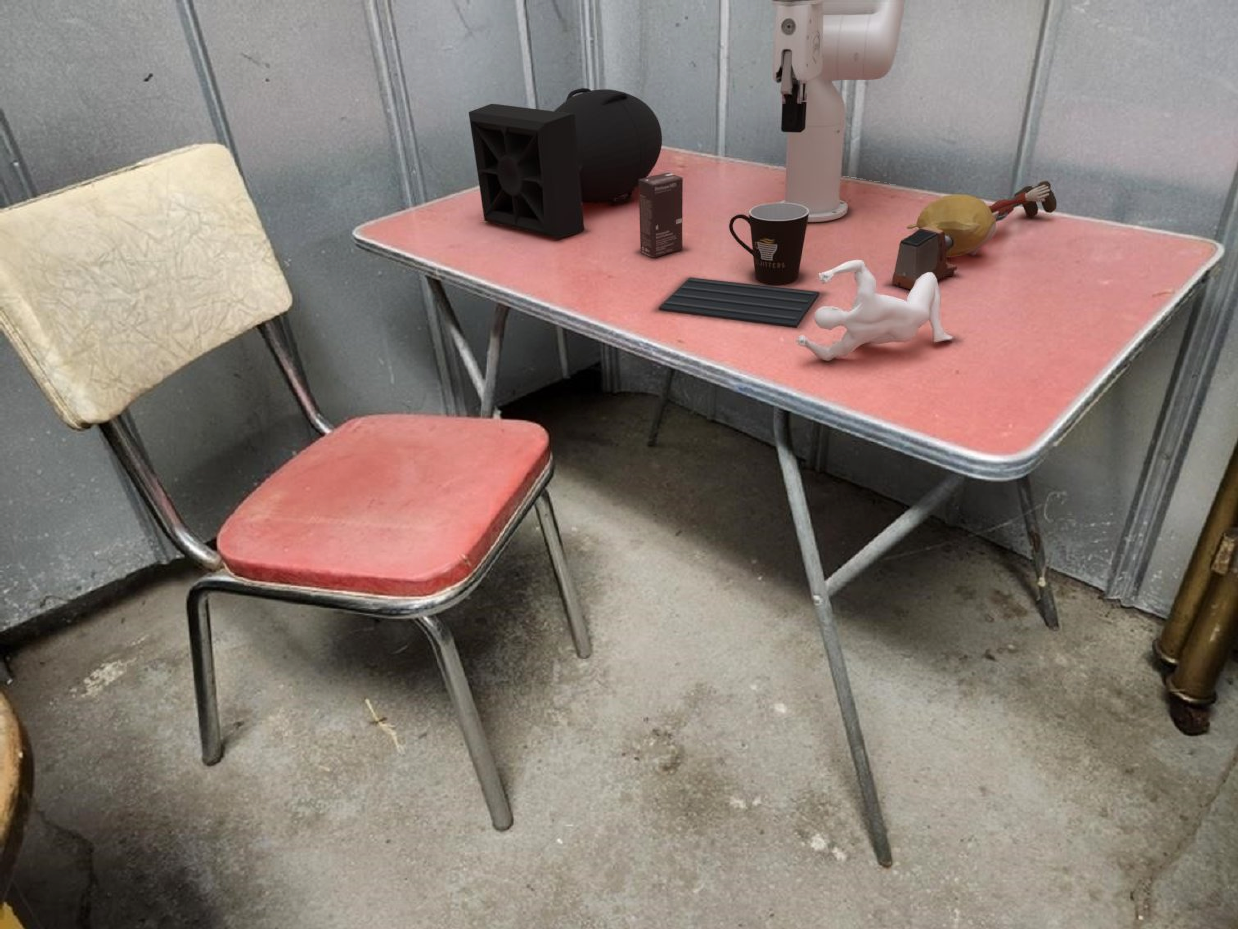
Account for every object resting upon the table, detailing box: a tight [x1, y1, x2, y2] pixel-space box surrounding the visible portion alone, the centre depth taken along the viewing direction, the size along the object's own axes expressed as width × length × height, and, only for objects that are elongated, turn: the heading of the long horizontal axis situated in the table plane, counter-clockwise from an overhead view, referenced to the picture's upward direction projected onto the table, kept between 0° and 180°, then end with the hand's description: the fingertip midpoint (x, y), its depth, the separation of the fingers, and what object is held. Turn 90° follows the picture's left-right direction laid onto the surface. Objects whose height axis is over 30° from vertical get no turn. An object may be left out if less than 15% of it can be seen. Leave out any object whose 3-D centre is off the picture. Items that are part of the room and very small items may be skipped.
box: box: [638, 172, 684, 258], centre depth 141 cm, size 6×4×12 cm
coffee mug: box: [728, 202, 809, 286], centre depth 130 cm, size 12×9×10 cm
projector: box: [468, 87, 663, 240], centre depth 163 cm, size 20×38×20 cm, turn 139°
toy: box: [906, 180, 1058, 258], centre depth 137 cm, size 22×10×30 cm
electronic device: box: [891, 226, 958, 291], centre depth 125 cm, size 4×10×8 cm, turn 127°
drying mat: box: [658, 277, 820, 328], centre depth 125 cm, size 12×20×1 cm, turn 65°
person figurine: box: [796, 259, 954, 362], centre depth 106 cm, size 13×13×18 cm
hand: (793, 130), depth 129 cm, fingers closed
